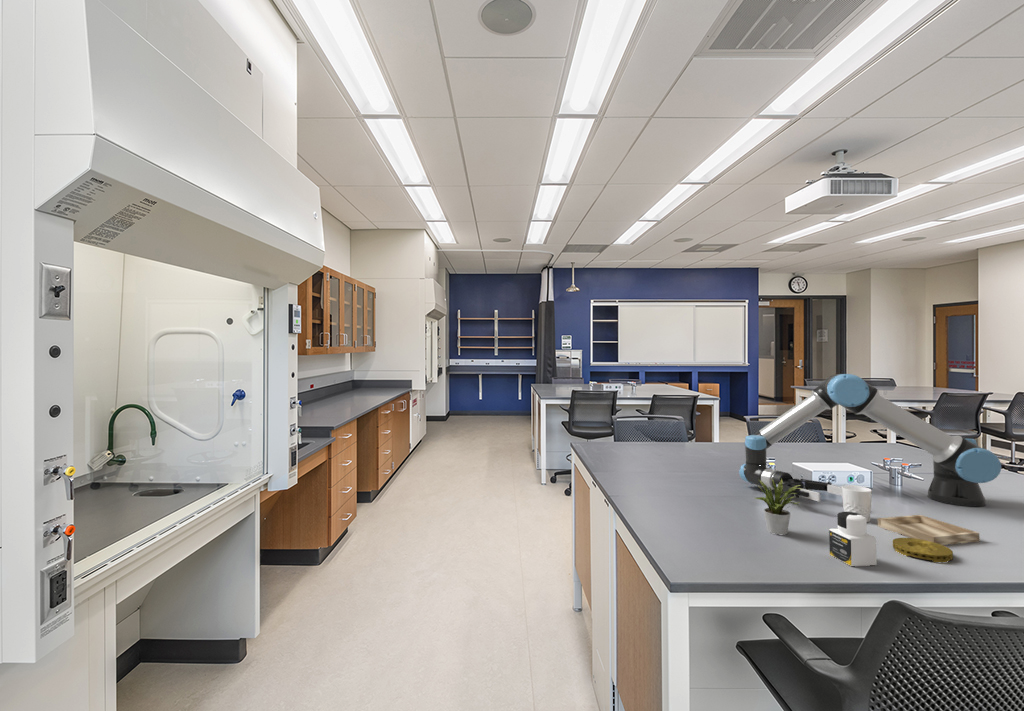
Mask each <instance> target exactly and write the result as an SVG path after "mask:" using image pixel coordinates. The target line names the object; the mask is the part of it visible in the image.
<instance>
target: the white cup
mask: <svg viewBox="0 0 1024 711" xmlns="http://www.w3.org/2000/svg"><path fill="white" fill-rule="evenodd" d="M841 488H842V496H841V497H842V507H843V512H854V513H858V514H860V515H862V516H864V517H865V518H866V523H869V522H871V514H872V492H873V490H872V489H871V488H868V487H865V486H861V485H855V484H854V485H852V484H851V485H850V484H849V485H848V484H847V485H846V484H844V485H842V486H841Z"/></svg>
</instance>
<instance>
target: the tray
mask: <svg viewBox="0 0 1024 711" xmlns="http://www.w3.org/2000/svg"><path fill="white" fill-rule="evenodd" d="M878 526H879V528H881V529H885V530H888V531H889V532H892V531H893V532H892V533H895V532H897V533H896V534H898V533H899V534H898V535H901V534H902V535H901V536H904V535H905V536H904V537H906V536H907V537H906V538H909V537H910V538H915V539H921V540H926V541H930V542H934V543H937V544H940V545H943V546H949V545H948V544H951V545H958V544H957V543H961V544H968V542H971V543H979V542H980V532H978V531H975V530H972V529H968V528H965V527H961V526H958V525H955V524H952V523H948V522H945V521H942V520H938V519H935V518H932V517H928V516H926V515H922V514H911V515H900V516H890V517H879V518H877V527H878Z"/></svg>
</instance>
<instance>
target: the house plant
mask: <svg viewBox="0 0 1024 711" xmlns="http://www.w3.org/2000/svg"><path fill="white" fill-rule="evenodd" d="M771 478H772V477H771ZM759 481H760V480H759ZM772 481H773V486H774V489H773V490H774V491H773V490H771V488H770V487H769V488H767V486H766V485H765V484H764V483H763V482H762V481H760V483H761V484H762V486H759V485H756V486H757V487H758V488H759V489H760V490H761V491H762V493H763V494H764V495H765V496H764V497H763V496H761V497H755V498H754V499H755V500H761V501H763V502H764V503H765V504H766V505H767V507H765V508H763V514H764V519H765V520H764V521H765V524H766V525H765V526H766V530H768V531H769V532H768V531H767V532H768V533H770V532H771V533H770V534H772V533H775V534H787V535H788V531H789V526H790V525H789V524H790V519H791V512H790V511H788V510H787V509H784V508H785V506H787V505H788V504H792V505H797V506H800V503H798V502H795V501H794V500H793V498H794V496H790V495H789V494H790V493H791V492H792V491H795V489H802V488H796V487H797V486H801V485H797V486H794V487H792V488H790V489H789V490H788V491H785V492H782V489H783V481H782V478H781V481H780V483H779V484H778V486H777V488H776V485H775V482H774V480H773V479H772ZM773 492H774V494H773ZM791 494H796V493H791ZM789 496H790V497H789ZM789 507H791V506H789ZM789 507H788V508H789ZM775 534H774V535H775Z"/></svg>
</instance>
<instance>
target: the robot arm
mask: <svg viewBox="0 0 1024 711" xmlns="http://www.w3.org/2000/svg"><path fill="white" fill-rule="evenodd" d="M837 406H841V407H843V408H844V409H846V410H848V411H849V412H851V413H853V414H854V415H864V416H866V417H868V418H869V419H871V420H873V421H875V422H877V424H880V425H881V426H882V427H884V428H886V429H888V430H889V431H891V432H893V433H895V434H896V435H898V436H900V437H901V438H903V439H905V440H907V441H908V442H910V443H912V445H915V446H916V447H919V448H920V449H922V450H923V451H925V452H927V453H928V454H930V455H932V458H933V459H932V460H933V461H932V464H933V478H932V480H931V482H930V484H929V488H928V490H927V497H928V498H929V499H930V500H933V501H937V502H940V503H943V504H950V505H957V506H962V507H963V506H964V507H983V506H985V505H986V498H985V496H984V493H983V492H982V488H981V486H980V484H985V483H989V482H992V481H993V480H995V479H997V477H998V476H999V475H1000V474H1001V471H1002V463H1001V460H1000V459H999V458H998V456H997V455H996V454H995V453H993V451H991V450H989V449H987V448H983V447H980V446H978V443H977V441H976V439H974V438H965V437H963V436H961V435H950V434H948V433H946V432H944V431H943V430H941V429H939V428H938V427H936V426H934V425H933V424H931V423H929V422H927V421H925V420H924V419H922V418H920V417H918V416H917V415H914V414H913V413H911V412H910V411H908V410H906V409H905V408H902V407H901V406H899V405H897V404H895V403H893V402H892V401H890V400H889V399H887V398H885V397H883V396H882V395H881V394H880V391H879V389H878V388H876V386H875V387H874V386H873V385H871V384H869V383H867V382H866V381H865V380H864V379H863V377H862V378H861V377H860V376H858V375H856V374H851V373H835V374H832V375H831V376H828V377H827V378H826V379H825V380H824V381H822V382H821V383H820V384H819V385H818V386H817V387H815V388H814V389H812V390H811V393H810V395H808V396H807V397H806V398H805V399H803V400H801V401H800V402H799V403H797V404H796V405H794V406H793V407H791V408H790V409H788V410H787V411H786V412H784V413H783V414H781V415H779V416H778V417H777V418H776V419H774V420H772V421H771V422H769V423H768V424H766V425H765V426H763V427H762V428H760V430H758V431H756V432H754V434H750V435H746V436H745V440H744V448H745V450H744V452H745V462H744V463H743V464H741V465H740V469H739V470H738V472H739V473H738V474H739V477H740V479H741V480H742V481H743V482H747V483H749V484H751V485H754V486H757V485H758V486H759V487H763V486H762V484H761V483H760V481H762V482H763V483H764V484H765V485H766V486H767V488H768V489H769V487H770V488H771V490H772V491H773V490H774V486H773V481H772V479H773V480H774V482H775V485H776V488H777V486H778V484H779V483H780V481H781V478H782V481H783V489H782V492H785V491H788V490H789V489H790V488H792V487H794V486H797V485H801V486H797V487H796V488H802V489H795V491H792V492H791V493H796V494H791V493H790V494H789V495H788V496H790V497H794V498H796V499H800V497H802V498H805V499H809V500H813V501H815V502H816V501H817V502H821V494H820V492H818V491H823V492H827V493H829V494H832V495H837V496H840V497H842V486H837V485H833V484H832V483H831V482H830V481H827V482H825V481H820V480H819V481H818V480H810V479H805V478H800V479H799V478H793V476H792V474H790V473H789V472H785V471H782V470H779V469H773V468H770V467H769V468H768V467H767V465H768V464H767V450H768V448H770V447H772V446H773V445H774V444H777V443H778V442H779V441H780V440H782V439H783V438H785V437H787V436H788V435H789V434H791V433H792V432H794V431H796V430H797V429H799V427H801V426H803V425H804V424H806V423H807V422H808V421H810V420H812V419H814V418H815V417H816V416H818V415H819V414H821V413H822V412H824V411H825V410H831V409H833V408H835V407H837ZM759 465H761V466H759ZM771 477H772V478H771ZM759 480H760V481H759ZM782 492H781V493H782Z"/></svg>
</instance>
